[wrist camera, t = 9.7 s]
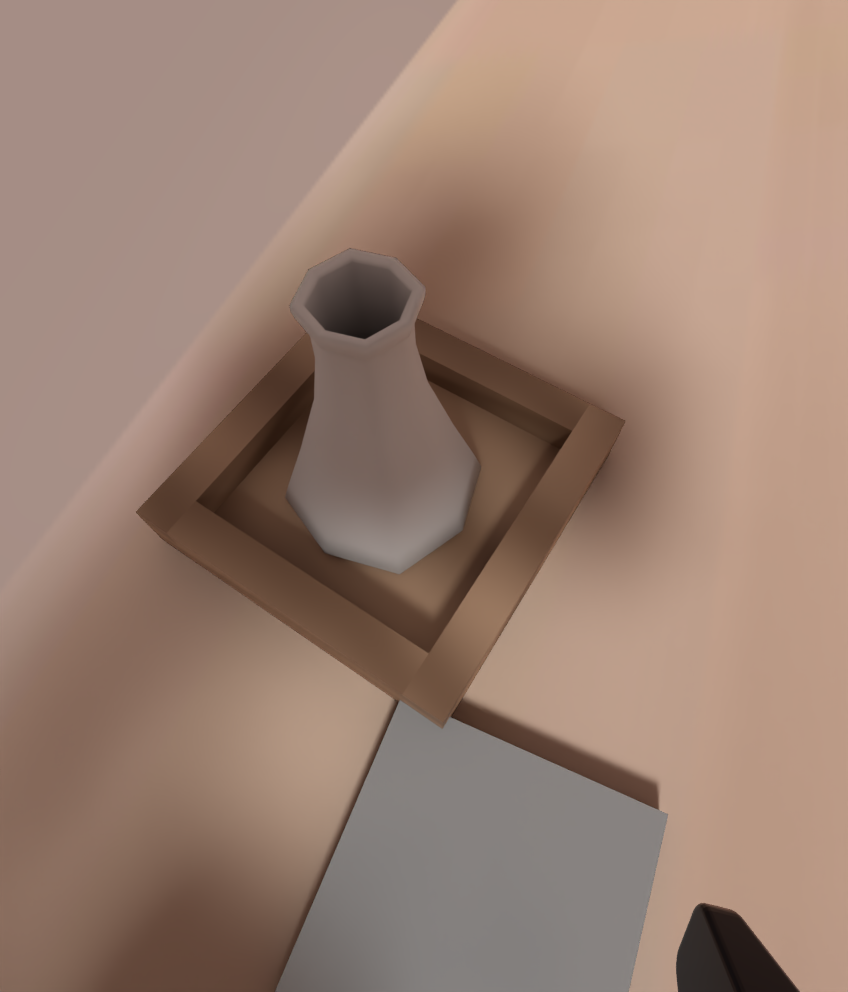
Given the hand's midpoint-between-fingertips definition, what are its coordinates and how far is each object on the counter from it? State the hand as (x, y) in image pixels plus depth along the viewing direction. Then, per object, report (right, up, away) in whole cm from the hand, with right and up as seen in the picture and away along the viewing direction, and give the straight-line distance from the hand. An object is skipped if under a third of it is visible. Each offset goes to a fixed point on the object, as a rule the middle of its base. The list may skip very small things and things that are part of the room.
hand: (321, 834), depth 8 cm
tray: (0, +4, +17) cm, 18 cm away
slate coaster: (+3, -8, +11) cm, 14 cm away
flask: (0, +5, +17) cm, 17 cm away
